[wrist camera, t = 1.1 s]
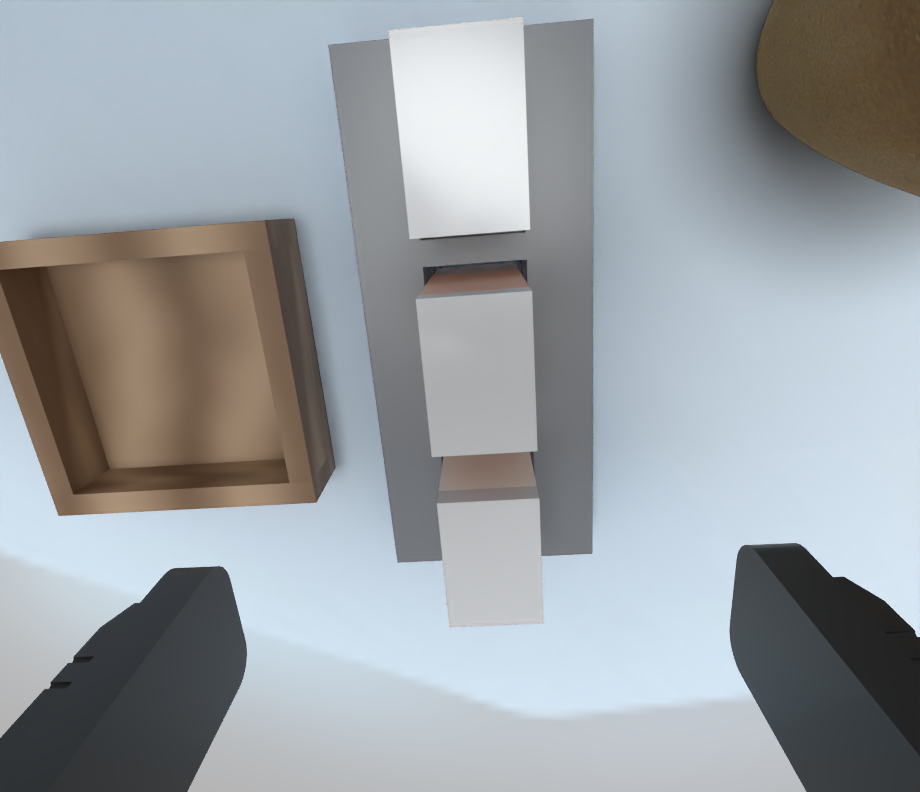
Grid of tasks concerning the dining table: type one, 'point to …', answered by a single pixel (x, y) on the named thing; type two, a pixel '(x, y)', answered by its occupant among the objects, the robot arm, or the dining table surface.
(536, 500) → the block
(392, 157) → the frame
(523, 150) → the block
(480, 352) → the block
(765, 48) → the plant pot
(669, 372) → the dining table surface
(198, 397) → the tray
